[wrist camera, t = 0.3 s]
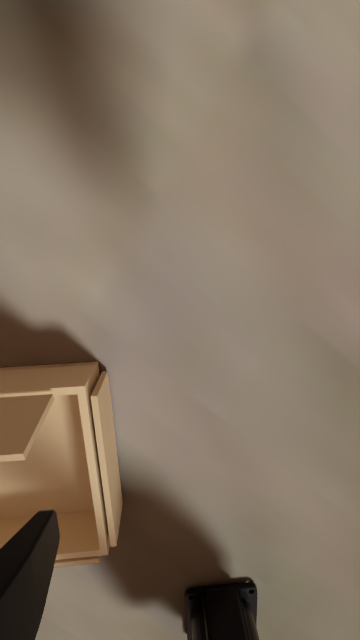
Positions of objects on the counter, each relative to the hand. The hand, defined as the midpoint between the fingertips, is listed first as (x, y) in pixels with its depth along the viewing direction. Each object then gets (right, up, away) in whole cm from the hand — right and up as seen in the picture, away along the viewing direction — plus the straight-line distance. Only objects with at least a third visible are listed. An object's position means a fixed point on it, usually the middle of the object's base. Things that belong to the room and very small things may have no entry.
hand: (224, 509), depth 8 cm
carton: (-13, -4, +15) cm, 20 cm away
